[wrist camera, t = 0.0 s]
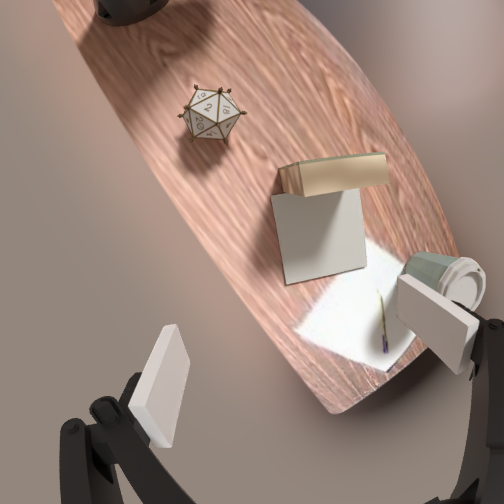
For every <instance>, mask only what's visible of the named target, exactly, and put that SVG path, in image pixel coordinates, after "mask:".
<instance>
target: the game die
mask: <svg viewBox="0 0 504 504" xmlns="http://www.w3.org/2000/svg"><path fill="white" fill-rule="evenodd" d="M194 88H195V89H196V91H195V93H194V95H193V97H192V98H191V100H190V102H189V104H188V106H187V105H186V106H184V109H185V111H184V113H183V115H182V114H179V115H178V117H179V118H180V117H183V118H184V120H185V122H186V124H187V126H188V128H189V130H190V132H191V134H192V136H193V137H192V138H191V139H190V142H193V140H194V138H206V139H221V140H224V142H225V144H227V145H228V141H227V139H226V137H227V136H228V134H229V132H230V131H231V129H232V128H233V126H234V124H235V123H236V121H237V120H238V118H239V116H240V115H241V114H242V115H245V114H247V112H245V111H242V112H241V111H240V110H239V108H238V107H237V105H236V104H235V102H234V101H233V99H232V98H231V96H230V94H229V93H230V92H231V89H228V90H227V92H223V91H222V90H223V89H222V87H221V88H219V90H218V91H215V90H206V89H198V85H195V84H194Z"/></svg>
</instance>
